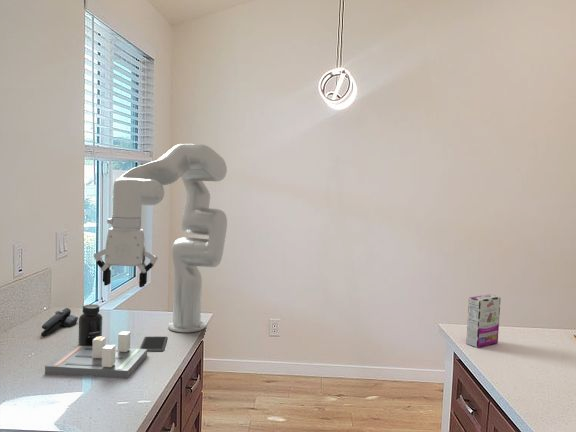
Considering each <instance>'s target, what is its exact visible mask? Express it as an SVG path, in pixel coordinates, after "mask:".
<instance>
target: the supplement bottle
mask: <svg viewBox="0 0 576 432" xmlns="http://www.w3.org/2000/svg"><path fill="white" fill-rule="evenodd" d="M78 317H79V318H78V340H77V343H78V345H79V346H93V339H95V338H96V337H99V336H103V316H102V314H100V305H99V304H94V303H93V304H92V303H91V304H84V305H82V314H80V315H79V316H78Z"/></svg>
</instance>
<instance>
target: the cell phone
mask: <svg viewBox="0 0 576 432" xmlns="http://www.w3.org/2000/svg"><path fill="white" fill-rule="evenodd" d="M167 341H168V336H145V337H143V340H142V343H141V345H140V347H139V349H147V353H162V352H164V351H165V348H166V345H167Z"/></svg>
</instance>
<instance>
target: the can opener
mask: <svg viewBox="0 0 576 432" xmlns="http://www.w3.org/2000/svg"><path fill="white" fill-rule="evenodd" d="M71 312H72V311H71V309H70V308H69V307H65V308H64V309H62V310H56V311H55V313H54V315H53V316H51V317H50V318H49V319H48V320H46V322H44V323H43V324H42V325H41V329H43V331H42V332H41V333H40V334H41V336H43V337H46V336H50V335H51V334H52V333H53V332H55V331H56V330H57V329H58V328H59V327H60V326H63V327H73V326H74V325H76V323H77V322H78V321H79V318H78V317H79V316H76V315H73V314H71ZM72 325H73V326H72Z"/></svg>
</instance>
